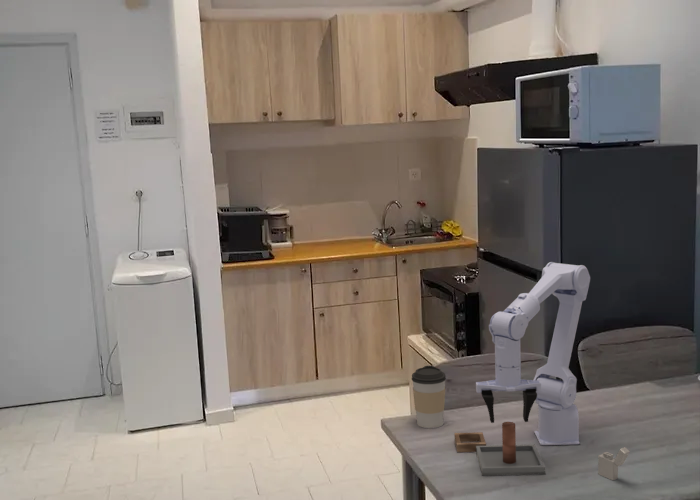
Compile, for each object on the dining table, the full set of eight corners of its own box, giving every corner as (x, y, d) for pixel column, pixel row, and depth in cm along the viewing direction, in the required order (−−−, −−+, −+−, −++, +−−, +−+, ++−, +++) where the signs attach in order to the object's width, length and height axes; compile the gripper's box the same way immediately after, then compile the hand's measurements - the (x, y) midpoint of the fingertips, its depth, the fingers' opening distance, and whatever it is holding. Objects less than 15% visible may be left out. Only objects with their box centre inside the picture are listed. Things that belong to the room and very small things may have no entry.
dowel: (514, 457, 172) (514, 421, 170) (516, 463, 169) (516, 426, 167) (501, 458, 172) (501, 421, 170) (503, 463, 169) (503, 427, 167)
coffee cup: (445, 430, 191) (444, 375, 188) (411, 429, 193) (409, 374, 190) (448, 417, 200) (446, 364, 197) (415, 416, 201) (413, 363, 199)
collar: (482, 439, 184) (482, 432, 184) (486, 451, 177) (486, 443, 177) (454, 440, 184) (454, 432, 184) (457, 452, 178) (457, 444, 177)
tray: (534, 451, 176) (534, 444, 176) (545, 474, 164) (545, 466, 164) (476, 452, 177) (476, 445, 176) (482, 475, 165) (482, 468, 165)
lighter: (597, 473, 163) (598, 439, 162) (602, 471, 164) (603, 437, 163) (624, 485, 157) (624, 450, 156) (629, 483, 158) (630, 448, 157)
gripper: (478, 370, 163) (479, 428, 165) (543, 368, 162) (544, 426, 165) (474, 360, 170) (475, 416, 172) (537, 359, 169) (537, 414, 172)
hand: (508, 420), depth 169 cm, fingers open, 7 cm apart
